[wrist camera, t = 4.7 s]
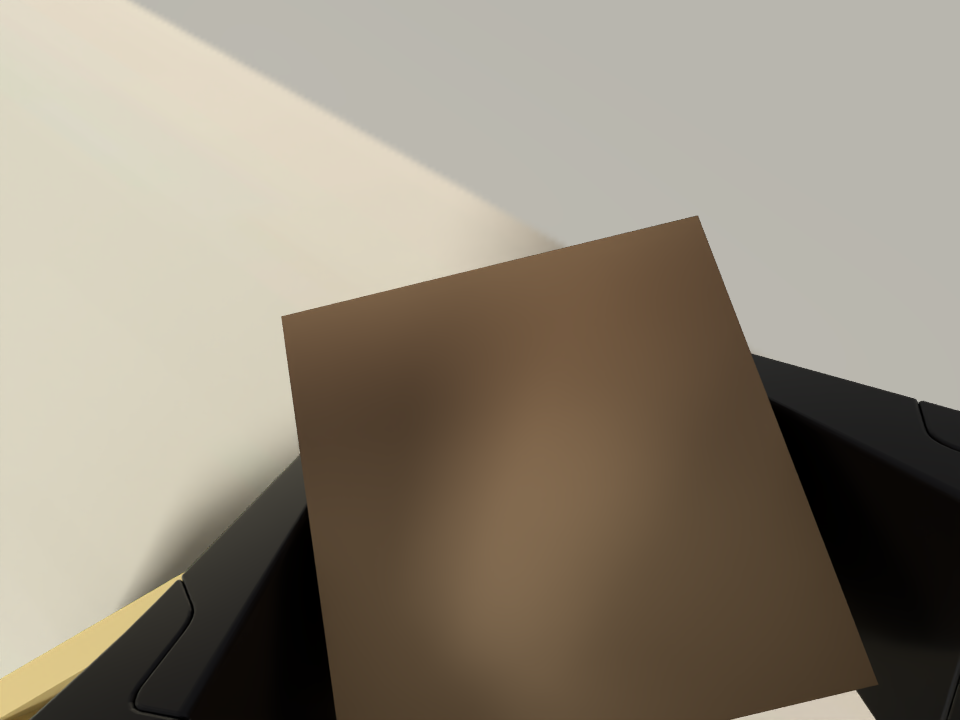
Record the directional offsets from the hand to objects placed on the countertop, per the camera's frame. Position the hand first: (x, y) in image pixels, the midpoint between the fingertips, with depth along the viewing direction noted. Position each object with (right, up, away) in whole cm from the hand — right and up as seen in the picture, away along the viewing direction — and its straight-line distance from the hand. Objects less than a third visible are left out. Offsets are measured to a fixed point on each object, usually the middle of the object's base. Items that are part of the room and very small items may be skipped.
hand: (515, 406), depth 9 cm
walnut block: (+1, -3, +6) cm, 7 cm away
